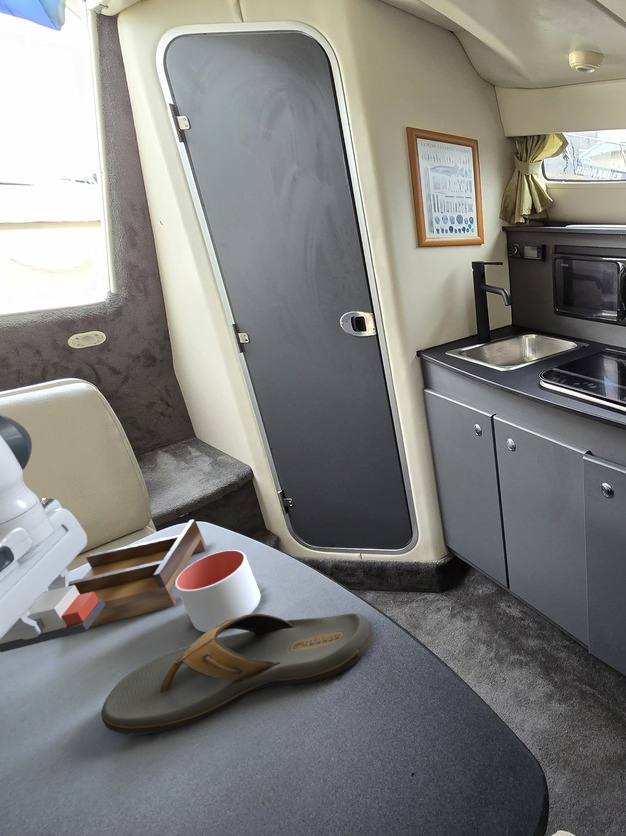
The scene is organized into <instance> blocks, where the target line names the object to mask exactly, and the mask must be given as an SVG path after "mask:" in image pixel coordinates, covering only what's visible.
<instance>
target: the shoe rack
mask: <svg viewBox="0 0 626 836" xmlns="http://www.w3.org/2000/svg"><path fill="white" fill-rule="evenodd" d="M207 549H208V546H207V544H206V542H205V541H204V538H203V535H202V533H201V530H200V528H199V526H198V523H197V521H196V519H194V518H193V519H190V520H189V521H188V522H187V523H186V525H185V526H184V527H183V530H182V531H181V532H180V534H176V535H172V536H167V537H161V538H156V539H152V540H148V541H144V542H138V543H134V544H130V545H125V546H120V547H117V548H116V547H115V548H112V549H106V550H102V551H98V552H93V553H89V554H87V556H86V557H85V558H86V561H87V562H88V564H89V566H90V569H89V570H88V572H86V574H85V575H84V576H83V577H82V578H79V579H74V580H70V581H68V586H72V585H75V586H76V588H77V590H78V592H79V593H80V595H81V594H86V593H90V592H94V593H95V595H96V597H97V599H103V600H104V602H105V604H106V605H105V606H104V608H103V609H102V610H101V612H100V613H99V614H98V616H97V617H96V619H95V620H94V621H93V623H92V624H91V625H90V627H89V628H93V627H96V626H101V625H104V624H109V623H111V622H117V621H119V620H123V619H124V620H125V619H127V618H132V617H136V616H141V615H144V614H148V613H151V612H155V611H160V610H163V609H168V608H171V607H175V606H176V604H177V602H178V601H177V598H176V597H175V595H174V593H173V591H172V589H173V586H175V581H176V579H177V577H178V576H179V574H180V573H181V572H182V571H183V570H184V569H185V566H186V565H187V563H188V561H189V560H190V559H191V556H192V555H194V554H198V553H199V554H200V553H202V552H206V551H207Z"/></svg>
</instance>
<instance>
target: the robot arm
mask: <svg viewBox="0 0 626 836" xmlns="http://www.w3.org/2000/svg"><path fill="white" fill-rule="evenodd" d="M32 448H33V443H32V438H31V436H30V433H29V432H28V430H27V429H26V428H25V427H24V426H23V425H22V424H20V423H19V422H18V421H16V420H15V419H12V418H11V417H8V416H6V415H4V414H2V413H0V639H1V638H2V637H3V636H4V635H5V634H6V633H7V632H8V630H9V629H10V630H14V631H17V633H18V634H19V636H20V637H21V638H22V639H30V638H34V637H37V636H38V635H39V634H40V633H41V632H42V631H43V629H44V628H45V624H43V621H42V619H41V618H39V619H35V620H32V619H29V618H27V617H28V616H29V615H30V612H29V611H28V609H29V608H30V606H31V605H32V604H33V603H34V602H35V601H36V600H37V599H38V598H39V597H40V595H41V594H42V593H43V592H46V590H47V591H51V590H55V589H59V588H64V587H68V582H69V579H70V578H69V575H70V573H69V570H68V568H67V567H68V566H69V565H70V564H71V563H72V562H73V561H74V560H75V558H76V557H77V556H78V555H80V553H81V552H82V551H83V550H84V549H85V548H86V546H87V545H88V535H87V533H86V531H85V529H84V528H83V526H82V525H81V523H80V522H79V521H78V520H77V518H76V517H75V515H74V514H73V513H72V512H71V511H70V510H69V509H67V508H63V506H62V504H61V503H60V501H59V500H58V499H54V498H50V497H49V498H47V497H43V498H41V499H39V497H38V495H37V493H35V492H33V491H32V490H31V489H30V488H29V487H28V486H27V485H26V483H25V481H24V470H25V468H26V467H27V465H28V463H29V461H30V458H31V455H32V451H33V450H32Z"/></svg>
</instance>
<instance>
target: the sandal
mask: <svg viewBox="0 0 626 836" xmlns="http://www.w3.org/2000/svg"><path fill="white" fill-rule="evenodd" d="M225 630H241V631H244V632H240V633H234V634H228V635H223V636H219V634H221V633H222V632H223V631H225ZM373 634H374V630H373V626H372V624H371V622H370V621H369V620H368V619H367V617H365V616H364V615H362V614H360V613H355V612H353V613H352V612H350V613H345V614H338V615H337V614H336V615H330V616H324V617H309V618H297V619H283V618H281V617H277V616H273V615H270V614H265V613H258V612H257V613H251V614H248V615H244V616H241V617H236V618H232V619H228V620H226V621H224V622H221V623H220V624H218V625H217V626H216V627H215V628H214V629H212V630H210V631H208V632H204V633H203V634H201V635H200V636H199V637H198V638H197V639H196V640H195V641H194V642H193V643H192V644H189V645H186V646H183V647H179V648H177V649H174V650H172V651H169V652H167V653H164V654H162V655H159V656H158V657H155V658H153V659H151V660H149V661H147V662H145V663H143V664H141V665H140V666H138V667H137V668H135V669H133V670H132V671H130V672H129V673H128V674H127V675H126V676H125V677H122V679H121V680H119V682H118V683H117V684H116V685H115V686H114V687H113V688H112V690H111V691H110V692H109V694H108V695H107V696H106V698H105V700H104V703H103V705H102V708H101V714H100V717H101V719H102V723H103V724H104V726H105V728H107V729H108V731H111V732H114V733H117V734H121V735H125V736H129V735H132V736H137V735H138V736H141V735H148V734H157V733H161V732H162V733H163V732H168V731H171V730H176V729H179V728H181V727H184V726H188V725H190V724H192V723H193V724H194V723H195V722H197V721H200V720H202V719H204V718H206V717H208V716H210V715H212V714H214V713H216V712H218V711H220V710H221V709H223V708H225V707H227V706H228V705H230V704H232V703H234V702H236V701H238V700H240V699H241V698H243V697H245V696H247V695H249V694H251V693H254V692H255V691H258V690H260V689H264V688H266V687H270V686H271V687H272V686H278V685H279V686H280V685H300V684H307V683H313V682H319V681H321V680H324V679H329V678H330V677H331V678H332V677H334V676H336V675H338V674H339V673H343V672H344V671H346V670H348V669H349V668H350V667H351V666H353V665H354V664H355V663H357V661H358V660H360V659H361V658H362V656H363V655H364V654H365V653H366V651H367V650H368V648H369V646H370V644H371V642H372V639H373ZM218 636H219V637H218Z"/></svg>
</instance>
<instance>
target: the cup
mask: <svg viewBox="0 0 626 836" xmlns="http://www.w3.org/2000/svg"><path fill="white" fill-rule="evenodd" d="M251 568H252V567H251V566H250V563H249V561H248V558H247V556H246V554H245V552H243V551H241V550H237V549H228V550H221V551H217V552H214V553H211V554H208V555H206V556H204V557H201V558H200V559H198V560H195V561H194V562H192V563H191V564H189V565H188V566H187V567H185V568H183V570H182V571H181V573H180V574H179V576H178V577H177V579H176V581H175V583H174V587H175V589H176V591H177V593H178V595H179V598H180V600H181V602H182V604H183V606H184V609H185V611H186V612H187V615H188V618H189V620H190V621H191V624H192V625H193V627H194V628H195V629H196V630H197V631H200V632H203V633H206V632H208V631H210V630H212V629H214V628H215V627H216V626H217V625H218V624H220V623H221V622H224V621H226V620H228V619H232V618H236V617H241V616H244V615H248V614H253V612H254V611H255V610H256V609H257V607H258V606H259V604H260V601H261V591H260V588H259V586H258V584H257V581H256V578H255V576H254V573H253V571H252V569H251Z"/></svg>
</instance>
